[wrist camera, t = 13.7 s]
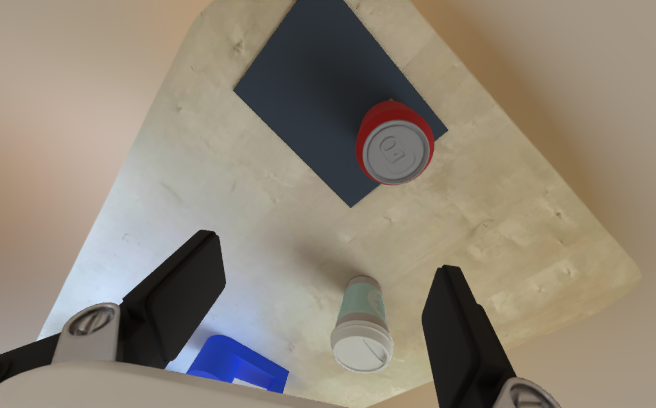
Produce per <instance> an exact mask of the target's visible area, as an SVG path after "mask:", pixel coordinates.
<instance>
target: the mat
mask: <svg viewBox="0 0 656 408" xmlns="http://www.w3.org/2000/svg"><path fill="white" fill-rule="evenodd" d="M233 91H234V92H235V93H236V94H237V95H238V96H239V97H240V98H241V99H242V100H243V101H244V102H245V103H246V104H247V105H248V106H249V107H250V108H251V109H252V110H253V111H254V112H255V113H256V114H257V115H258V116H259V117H260V118H261V119H262V120H263V121H264V122H265V123H266V124H267V125H268V126H269V127H270V128H271V129H272V130H273V131H274V132H275V133H276V134H277V135H278V136H279V137H280V138H281V139H282V140H283V141H284V142H285V143H286V144H287V145H288V146H289V147H290V148H291V149H292V150H293V151H294V152H295V153H296V154H297V155H298V156H299V157H300V158H301V159H302V160H303V161H304V162H305V163H306V164H307V165H308V166H309V167H310V168H311V169H312V170H313V171H314V172H315V173H316V174H317V175H318V176H319V177H320V178H321V179H322V180H323V181H324V182H325V183H326V184H327V185H328V186H329V187H330V188H331V189H332V190H333V191H334V192H335V193H336V194H337V195H338V196H339V197H340V198H341V199H342V200H343V201H344V202H345V203H346V204H347V205H348V206H349V207H350V208H351V207H352V206H354V205H355V204H356V203H357V202H359V201H360V200H361V199H362V198H364V197H365V196H366V195H367V194H369V193H370V192H371V191H372V190H374V189H375V188H376V187H378V186H379V185H380V184H381V183H378V182H376V181H374V180H372V179H371V178H369V177H368V176H367V175H366V174H365V173H364V172H363V171H362V169H361V168H360V166H359V164H358V161H357V158H356V142H357V137H358V133H359V129H360V125H361V123H362V120H363V118H364V116H365V114H366V113H367V112H368V111H369V110H370V109H371V108H372V107H373V106H374V105H376V104H378V103H380V102H384V101H398V102H401V103H403V104H405V105H406V106H408V107H409V108H411V109H412V110H414V111H415V112H416V113H417V114H419V115H420V116H421V117H422V118H423V119H424V120H425V121H426V122H427V123H428V125H429V126H430V128H431V130H432V133H433V137H434V141H435V140H437V139H438V138H439V137H440V136H442V135H443V134H444V133H446V132H447V131H448V129H447V128H446V127H445V126H444V124H443V123H442V122H441V121H440V119H439V118H438V117H437V116H436V115H435V113H434V112H433V111H432V110H431V108H430V107H429V106H428V105H427V103H426V102H425V101H424V100H423V98H422V97H421V96H420V95H419V93H418V92H417V91H416V90H415V88H414V87H413V86H412V85H411V84H410V82H409V81H408V80H407V79H406V77H405V76H404V75H403V74H402V72H401V71H400V70H399V69H398V67H397V66H396V65H395V64H394V62H393V61H392V60H391V59H390V58H389V56H388V55H387V54H386V53H385V51H384V50H383V49H382V48H381V46H380V45H379V44H378V43H377V41H376V40H375V39H374V38H373V36H372V35H371V34H370V33H369V31H368V30H367V29H366V28H365V27H364V25H363V24H362V23H361V22H360V20H359V19H358V18H357V17H356V15H355V14H354V13H353V12H352V10H351V9H350V8H349V7H348V5H347V4H346V3H345V2H344V1H343V0H297V2H296V3H295V4H294V6H293V7H292V9H291V10H290V11H289V13H288V14H287V16H286V17H285V18H284V20H283V21H282V23H281V24H280V25H279V27H278V28H277V30H276V31H275V32H274V34H273V35H272V37H271V38H270V39H269V41H268V42H267V44H266V45H265V46H264V48H263V49H262V51H261V52H260V54H259V55H258V56H257V58H256V59H255V61H254V62H253V63H252V65H251V66H250V68H249V69H248V70H247V72H246V73H245V75H244V76H243V77H242V79H241V80H240V82H239V83H238V84H237V86H236V87H235V89H234V90H233Z"/></svg>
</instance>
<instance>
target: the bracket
mask: <svg viewBox="0 0 656 408" xmlns="http://www.w3.org/2000/svg"><path fill="white" fill-rule="evenodd" d="M288 373H289V371H287V370H285V369H284V368H282V367H280V366H278V365H277V364H275V363H273V362H271V361H270V360H268V359H266V358H264V357H263V356H261V355H259V354H257V353H256V352H254V351H252V350H250V349H249V348H247V347H245V346H243V345H242V344H240V343H238V342H236V341H235V340H233V339H231V338H229V337H226V336H221V335H215V336H211V337H210V338H208V340H207V341H206V343H205V344H204V346H203V347H202V349H201V351H200V352H199V354H198V355H197V357H196V359H195V360H194V362H193V363H192V365H191V366H190V368H189V370H188V371H187V373H186V374H188V375H193V376H198V377H203V378H208V379H213V380H218V381H223V382H228V383H232V381H233V379H234V377H235V378H237V379H240V380H243V381H246V382H249V383H251V384H254V385H257V386H260V387H263V388H265V389H267V391H271V392H276V393H281V394H283V391H284V387H285V384H286V380H287V376H288Z"/></svg>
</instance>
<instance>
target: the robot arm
mask: <svg viewBox="0 0 656 408" xmlns="http://www.w3.org/2000/svg"><path fill="white" fill-rule="evenodd" d="M225 284H226V279H225V272H224V266H223V259H222V253H221V246H220V239H219V236H218V235H216V233H215V232H214V231H208V230H199V231H198V232H197V233H196V234H195V235H193V236H192V237H191V238H190V239H189V240H188V241H187V242H186V243H184V244H183V245H182V246H181V247H180V248H179V249H178V250H177V251H175V252H174V253H173V254H172V255H171V256H170V257H169V258H168V259H166V260H165V261H164V262H163V263H162V264H161V265H160V266H159V267H157V268H156V269H155V270H154V271H153V272H152V273H151V274H150V275H148V276H147V277H146V278H145V279H144V280H143V281H142V282H141V283H139V284H138V285H137V286H136V287H135V288H134V289H133V290H132V291H131V292H129V293H128V294H127V295H126V296H125V297H124V298H123V302H122V303H121V304H120V305H119V306H118V305H117V304H115V303H100V304H95V305H93V306H90V307H87V308H85V309H84V310H82V311H80V312H78V313H77V314H75V315H74V316H73V317H71V318H70V319H69V320H68V321H67V323H66V324H65V325H64V327H63V329H62V331H61V333H58V334H55V335H53V336H50V337H47V338H44V339H42V340H39V341H36V342H33V343H31V344H28V345H25V346H23V347H20V348H17V349H14V350H12V351H9V352H6V353H3V354H0V408H347V407H343V406H338V405H333V404H329V403H324V402H319V401H314V400H310V399H305V398H300V397H295V396H291V395H286V394H281V393H276V392H271V391H267V390H262V389H257V388H252V387H247V386H243V385H238V384H233V383H228V382H223V381H218V380H213V379H208V378H203V377H198V376H193V375H188V374H183V373H179V372H174V371H169V370H164V369H165V367H166V366H167V365H168V363H169V362H170V361H173V360H174V359H175V358H176V357H177V356H178V354H179V353H180V351H181V350H182V349H183V347H184V346H185V344H186V343H187V341H188V340H189V339H190V337H191V336H192V334H193V333H194V331H195V330H196V328H197V327H198V326H199V324H200V323H201V321H202V320H203V318H204V317H205V315H206V314H207V313H208V311H209V310H210V308H211V307H212V305H213V304H214V303H215V301H216V300H217V298H218V297H219V295H220V294H221V292H222V291H223V290H224V288H225ZM422 326H423V331H424V336H425V340H426V345H427V350H428V355H429V360H430V364H431V369H432V374H433V379H434V384H435V388H436V393H437V398H438V403H439V407H440V408H561V407H560V405H559V404H558V402H557V401H556V400H555V399H554V398H553V397H552V396H551V395H550V394H549V393H548V392H547V391H546V390H544V389H543V388H542V387H540V386H539V385H537V384H535V383H534V382H532V381H530V380H527V379H524V378H518V377H517V376H516V374H515V372H514V370H513V368H512V366H511V364H510V362H509V360H508V358H507V356H506V354H505V351H504V349H503V347H502V345H501V343H500V341H499V339H498V337H497V335H496V333H495V331H494V329H493V327H492V325H491V323H490V321H489V319H488V317H487V315H486V312H485V310H484V309H483V307H482V306H481V305H480V304H477V303H476V301H475V298H474V296H473V294H472V292H471V290H470V288H469V286H468V283H467V281H466V279H465V277H464V275H463V273H462V271H461V269H460V267H457V266H450V265H443V266H442V268H437V270H436V273H435V276H434V279H433V282H432V285H431V288H430V292H429V295H428V298H427V301H426V304H425V307H424V310H423V313H422ZM149 366H150V367H149ZM152 367H153V368H152Z"/></svg>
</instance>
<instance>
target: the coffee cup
mask: <svg viewBox="0 0 656 408" xmlns="http://www.w3.org/2000/svg"><path fill="white" fill-rule="evenodd" d="M331 347H332V350H333V356H334V358H335V360H336V361H337V362H338V363H339V364H340V365H341V366H342V367H344V368H346V369H348V370H350V371H353V372H356V373H363V374H369V373H376V372H379V371H381V370H383V369H384V368H386V367H387V365H388V364H389V362H390V358H391V356H392V353H393V347H394V343H393V339H392V337H391V335H390V333H389V328H388V323H387V318H386V312H385V307H384V302H383V297H382V292H381V287H380V285H379V283H378V282H377V281H375V280H374V279H372V278H370V277H366V276H359V277H355V278H353V279H351V280H350V281H349V283H348V285H347V288H346V291H345V295H344V298H343V302H342V305H341V309H340V312H339V316H338V319H337V323H336V326H335V329H334V330H333V331H332V333H331Z"/></svg>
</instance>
